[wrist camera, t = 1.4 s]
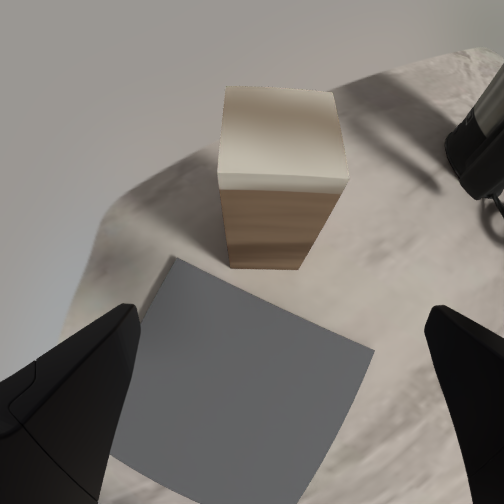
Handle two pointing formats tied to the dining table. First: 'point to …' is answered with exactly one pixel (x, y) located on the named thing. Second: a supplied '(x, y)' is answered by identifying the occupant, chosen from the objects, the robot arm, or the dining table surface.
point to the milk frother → (481, 145)
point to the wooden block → (278, 173)
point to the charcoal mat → (233, 394)
